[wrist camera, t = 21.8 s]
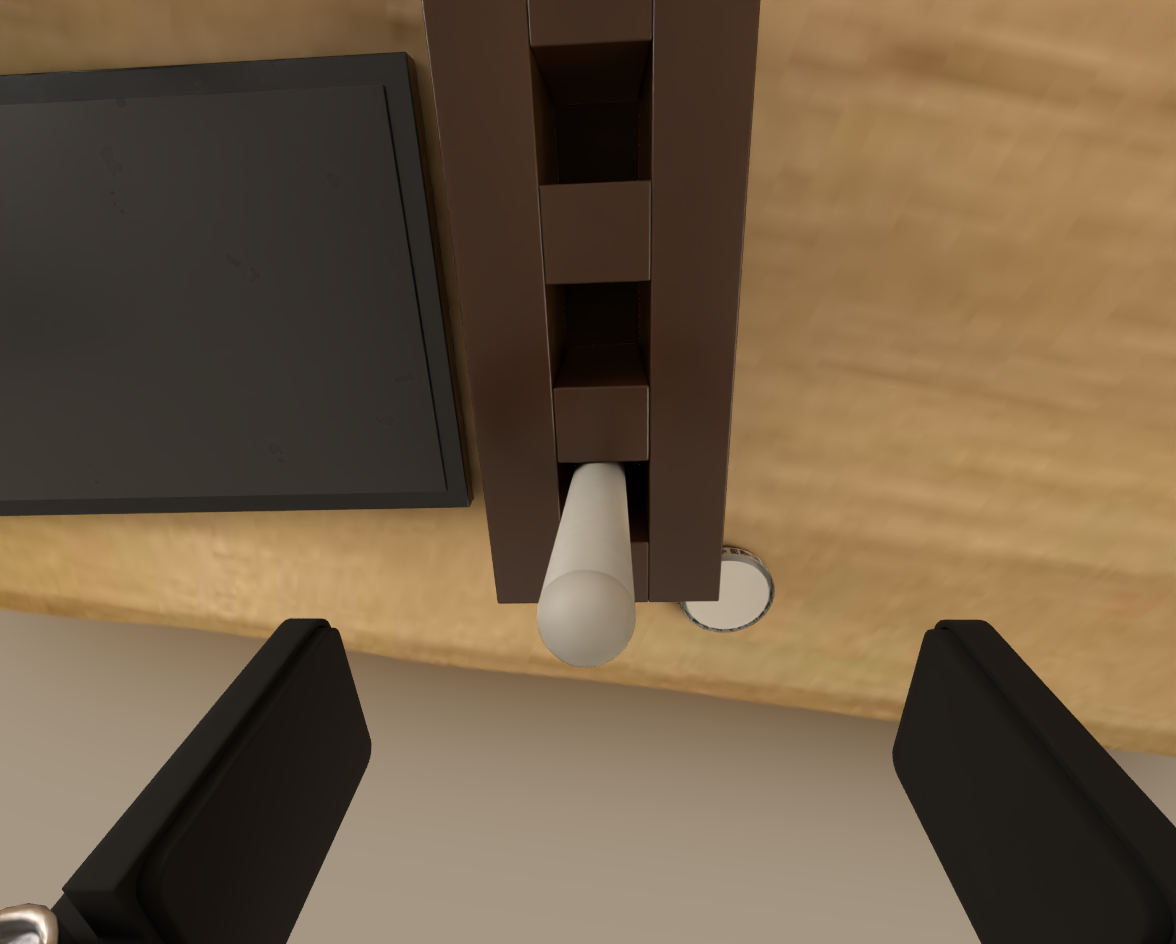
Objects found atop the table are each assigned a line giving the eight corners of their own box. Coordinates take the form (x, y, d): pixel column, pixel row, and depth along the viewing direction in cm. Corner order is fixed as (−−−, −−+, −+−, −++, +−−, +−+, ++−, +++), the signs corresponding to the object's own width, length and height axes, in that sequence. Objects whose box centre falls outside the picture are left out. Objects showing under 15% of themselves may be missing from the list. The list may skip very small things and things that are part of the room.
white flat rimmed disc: (766, 623, 25) (770, 633, 24) (676, 624, 25) (678, 633, 24) (775, 546, 23) (779, 555, 22) (679, 548, 23) (681, 556, 23)
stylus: (622, 424, 21) (637, 593, 8) (623, 464, 22) (639, 689, 8) (581, 425, 22) (526, 593, 8) (582, 465, 22) (532, 689, 8)
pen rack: (714, 8, 16) (768, -108, 11) (692, 512, 23) (719, 601, 17) (476, 22, 16) (410, -83, 11) (523, 515, 23) (497, 604, 18)
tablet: (415, 58, 17) (404, 49, 16) (474, 499, 23) (469, 509, 22) (-254, 97, 18) (-298, 90, 17) (-29, 508, 24) (-52, 519, 23)
